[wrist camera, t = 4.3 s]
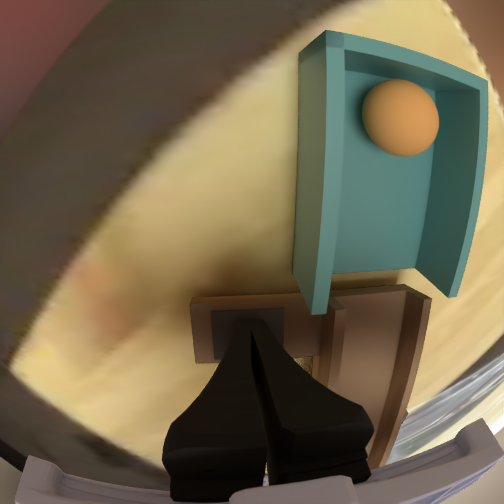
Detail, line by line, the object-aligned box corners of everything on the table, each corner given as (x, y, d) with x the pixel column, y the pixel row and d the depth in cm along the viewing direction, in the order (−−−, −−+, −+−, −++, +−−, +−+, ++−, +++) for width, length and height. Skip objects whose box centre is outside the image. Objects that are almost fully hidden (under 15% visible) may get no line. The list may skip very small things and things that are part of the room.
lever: (361, 484, 18) (371, 505, 15) (220, 505, 17) (221, 529, 14) (412, 283, 15) (440, 297, 12) (191, 297, 14) (185, 318, 11)
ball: (461, 98, 8) (416, 81, 10) (392, 78, 8) (354, 67, 10) (443, 173, 10) (405, 144, 12) (377, 165, 10) (345, 136, 12)
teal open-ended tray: (420, 265, 15) (456, 296, 12) (292, 272, 14) (311, 314, 11) (440, 82, 11) (487, 80, 8) (298, 53, 10) (325, 30, 7)
